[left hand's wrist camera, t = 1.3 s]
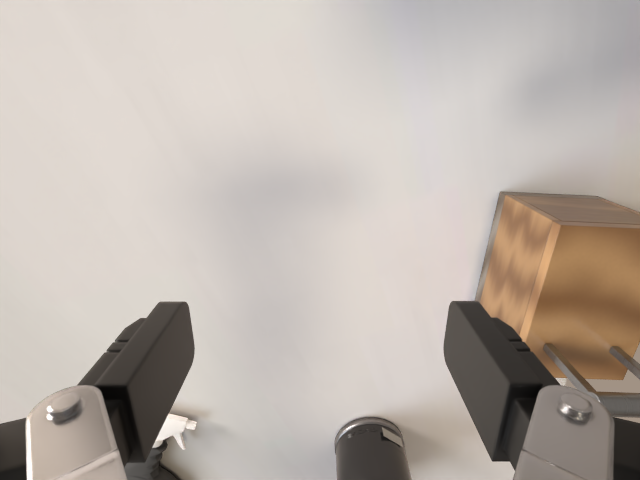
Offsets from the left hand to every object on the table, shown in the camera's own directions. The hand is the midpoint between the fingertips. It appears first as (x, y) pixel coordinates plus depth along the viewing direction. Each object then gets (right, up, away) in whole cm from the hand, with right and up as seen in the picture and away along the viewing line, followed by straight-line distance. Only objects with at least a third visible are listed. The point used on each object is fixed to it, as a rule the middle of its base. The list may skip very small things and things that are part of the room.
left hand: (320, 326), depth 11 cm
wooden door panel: (+23, -3, +21) cm, 32 cm away
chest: (+23, +1, +30) cm, 38 cm away
